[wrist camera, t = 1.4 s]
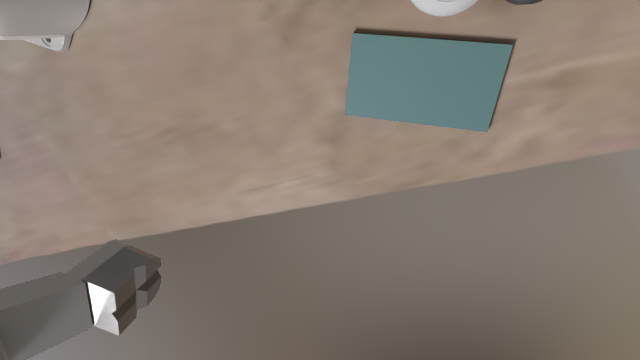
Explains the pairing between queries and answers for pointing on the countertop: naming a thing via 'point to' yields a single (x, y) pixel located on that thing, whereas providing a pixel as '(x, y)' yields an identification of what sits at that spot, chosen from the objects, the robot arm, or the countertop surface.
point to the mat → (425, 80)
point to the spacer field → (523, 1)
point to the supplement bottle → (442, 6)
